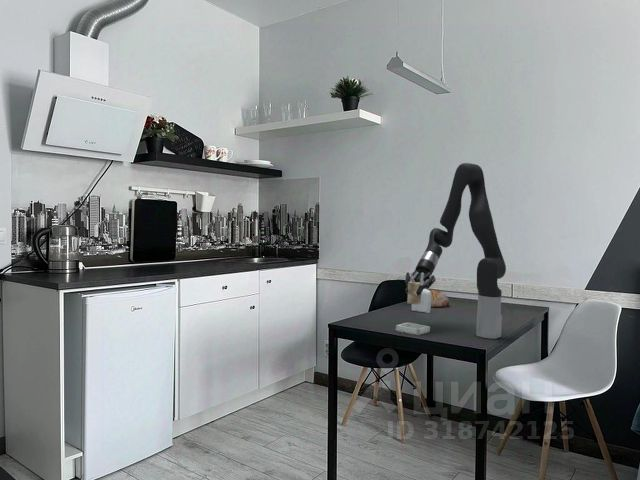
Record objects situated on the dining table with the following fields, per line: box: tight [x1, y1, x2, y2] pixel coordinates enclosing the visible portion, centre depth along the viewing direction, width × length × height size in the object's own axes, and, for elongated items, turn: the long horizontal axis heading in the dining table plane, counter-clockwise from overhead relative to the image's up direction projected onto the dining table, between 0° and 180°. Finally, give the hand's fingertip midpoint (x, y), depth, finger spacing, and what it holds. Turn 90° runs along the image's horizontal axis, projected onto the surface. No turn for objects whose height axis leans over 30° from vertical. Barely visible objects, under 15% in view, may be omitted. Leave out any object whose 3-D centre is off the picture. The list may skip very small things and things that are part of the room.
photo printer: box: [411, 288, 432, 314], centre depth 265 cm, size 10×4×12 cm, turn 56°
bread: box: [428, 288, 450, 309], centre depth 287 cm, size 16×20×10 cm
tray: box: [395, 322, 431, 336], centre depth 215 cm, size 11×10×2 cm
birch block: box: [406, 282, 421, 305], centre depth 214 cm, size 4×4×9 cm
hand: (412, 293), depth 213 cm, fingers closed on birch block, 4 cm apart
